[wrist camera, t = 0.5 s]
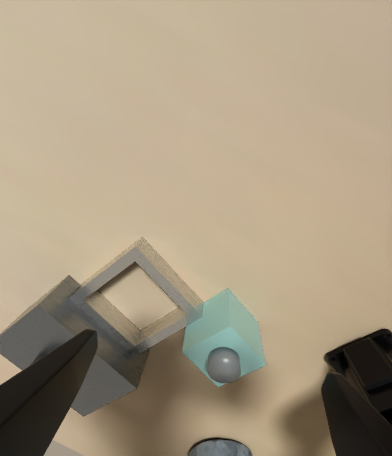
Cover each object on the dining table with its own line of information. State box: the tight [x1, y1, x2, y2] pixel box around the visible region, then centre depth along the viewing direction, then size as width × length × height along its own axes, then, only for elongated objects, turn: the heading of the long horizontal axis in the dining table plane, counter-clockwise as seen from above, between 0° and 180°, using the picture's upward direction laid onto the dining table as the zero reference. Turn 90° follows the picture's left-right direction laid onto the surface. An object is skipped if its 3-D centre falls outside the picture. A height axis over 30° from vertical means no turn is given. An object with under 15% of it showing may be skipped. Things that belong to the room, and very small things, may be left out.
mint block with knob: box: [182, 288, 266, 387], centre depth 22 cm, size 5×5×6 cm
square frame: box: [0, 237, 204, 417], centre depth 23 cm, size 12×17×6 cm
